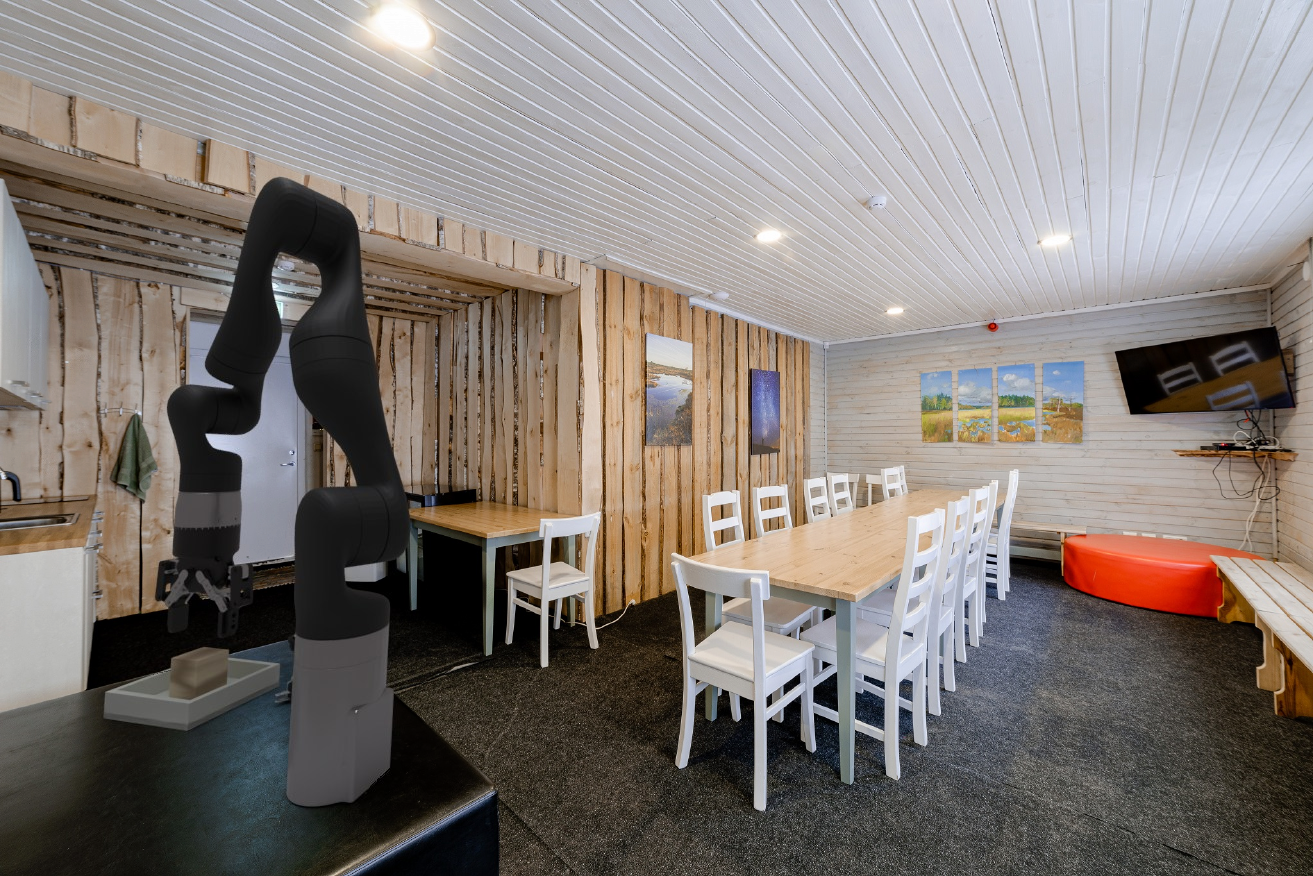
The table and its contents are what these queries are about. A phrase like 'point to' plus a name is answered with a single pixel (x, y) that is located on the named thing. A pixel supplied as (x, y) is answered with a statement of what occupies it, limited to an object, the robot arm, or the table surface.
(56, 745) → the table surface
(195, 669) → the pine block
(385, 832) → the table surface
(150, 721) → the tray
